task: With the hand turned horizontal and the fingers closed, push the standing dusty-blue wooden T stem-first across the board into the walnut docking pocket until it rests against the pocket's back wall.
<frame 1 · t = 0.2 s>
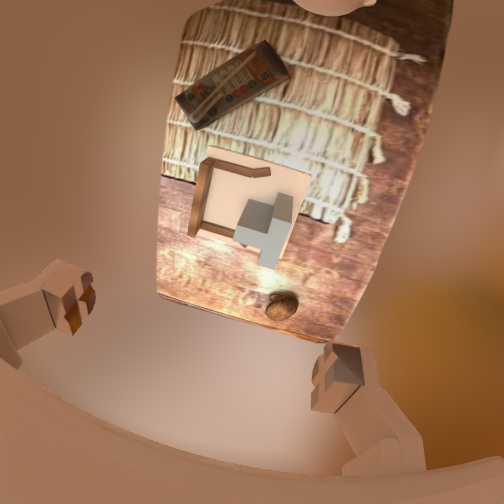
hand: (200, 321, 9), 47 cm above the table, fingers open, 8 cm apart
mushroom: (282, 299, 69), on the table
beverage carton: (236, 85, 46), on the table
tee block: (266, 211, 57), point 1 cm above the table, touching board
dock fence: (227, 199, 57), resting on board
board: (247, 203, 57), on the table
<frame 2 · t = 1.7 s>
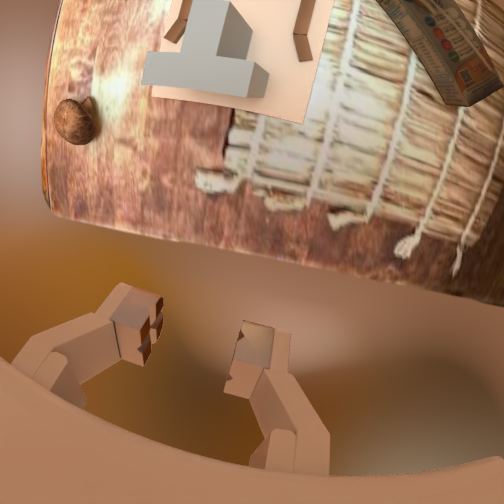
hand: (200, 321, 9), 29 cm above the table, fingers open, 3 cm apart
mushroom: (87, 118, 34), on the table
beverage carton: (426, 33, 22), on the table
tee block: (233, 59, 28), point 1 cm above the table, touching board
dock fence: (247, 1, 24), resting on board
board: (241, 31, 26), on the table
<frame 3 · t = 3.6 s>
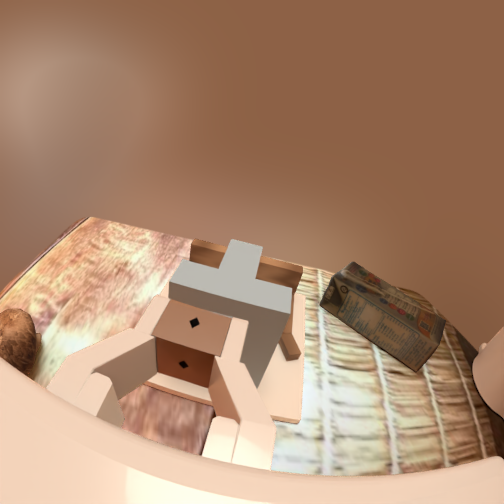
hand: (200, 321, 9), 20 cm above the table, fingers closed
mushroom: (22, 359, 23), on the table
beverage carton: (375, 329, 40), on the table
tee block: (219, 354, 30), point 1 cm above the table, touching board
dock fence: (233, 306, 37), resting on board
board: (226, 334, 34), on the table
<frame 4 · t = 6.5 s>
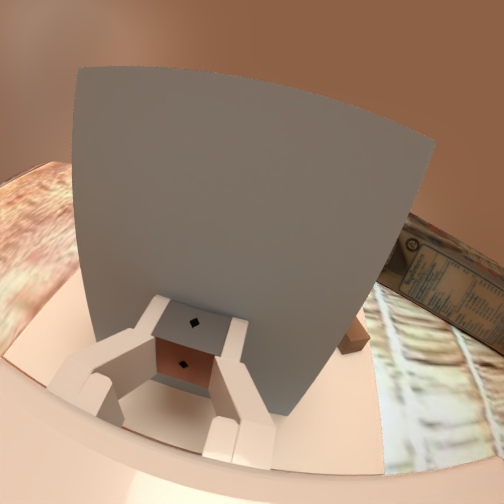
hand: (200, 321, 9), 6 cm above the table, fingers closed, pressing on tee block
beverage carton: (445, 306, 24), on the table
tee block: (211, 331, 15), point 1 cm above the table, touching gripper
dock fence: (237, 259, 21), resting on board
board: (222, 305, 18), on the table
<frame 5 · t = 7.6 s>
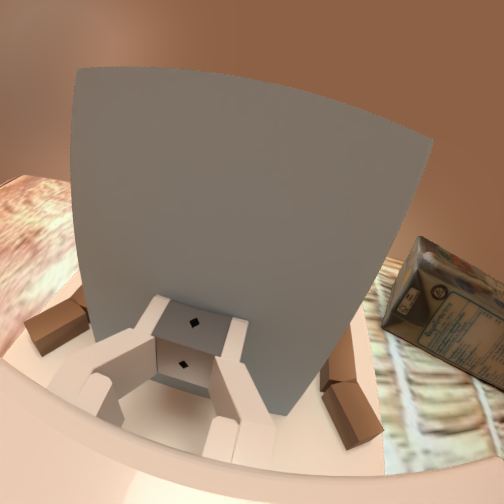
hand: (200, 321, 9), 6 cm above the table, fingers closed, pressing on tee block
beverage carton: (464, 349, 19), on the table
tee block: (210, 331, 15), point 1 cm above the table, touching gripper
dock fence: (217, 316, 16), resting on board
board: (196, 382, 13), on the table
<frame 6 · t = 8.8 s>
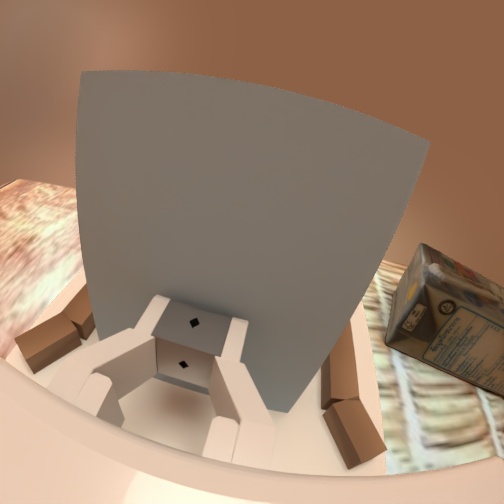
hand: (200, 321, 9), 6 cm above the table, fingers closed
beverage carton: (468, 358, 18), on the table
tee block: (212, 329, 15), point 1 cm above the table, touching board, dock fence
dock fence: (214, 330, 15), resting on board
board: (193, 400, 12), on the table
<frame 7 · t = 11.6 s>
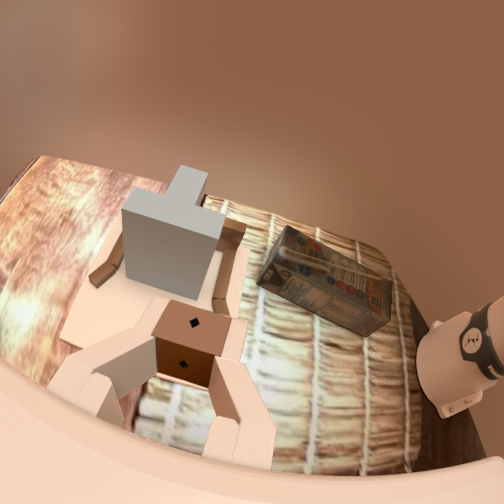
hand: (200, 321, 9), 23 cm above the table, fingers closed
beverage carton: (318, 294, 42), on the table
tee block: (170, 262, 35), point 1 cm above the table, touching board, dock fence
dock fence: (171, 263, 36), resting on board
board: (161, 293, 34), on the table
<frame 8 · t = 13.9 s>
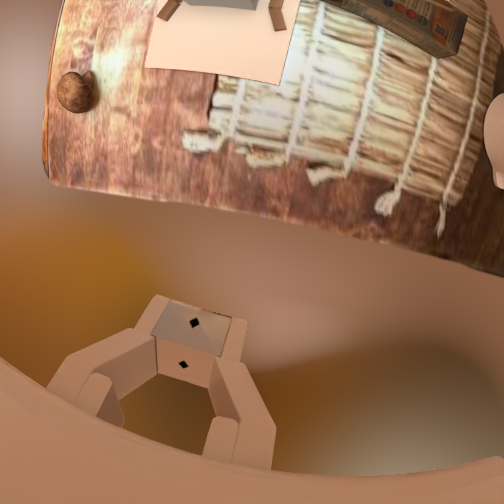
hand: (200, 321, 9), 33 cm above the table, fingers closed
mushroom: (87, 90, 36), on the table
beverage carton: (387, 7, 24), on the table
board: (224, 8, 28), on the table
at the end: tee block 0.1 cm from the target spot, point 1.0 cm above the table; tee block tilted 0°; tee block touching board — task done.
